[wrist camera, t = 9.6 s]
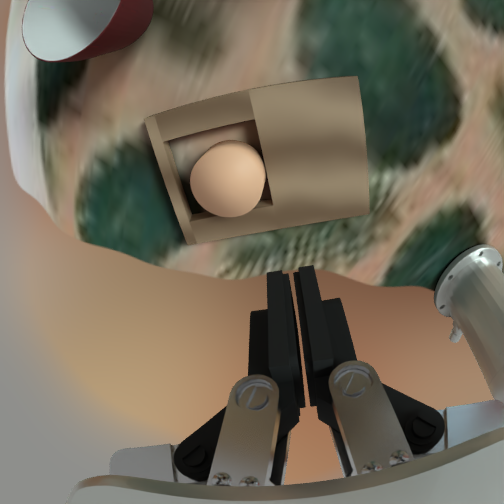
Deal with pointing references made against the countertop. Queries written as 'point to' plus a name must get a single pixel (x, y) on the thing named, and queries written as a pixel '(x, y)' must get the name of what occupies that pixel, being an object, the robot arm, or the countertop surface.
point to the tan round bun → (229, 179)
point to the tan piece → (279, 154)
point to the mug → (82, 27)
